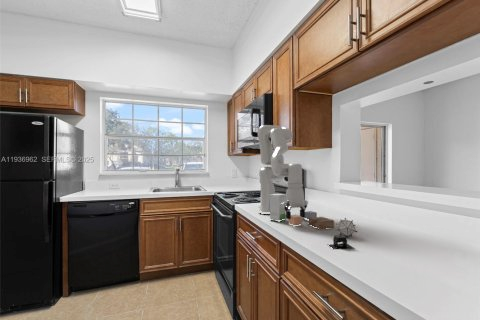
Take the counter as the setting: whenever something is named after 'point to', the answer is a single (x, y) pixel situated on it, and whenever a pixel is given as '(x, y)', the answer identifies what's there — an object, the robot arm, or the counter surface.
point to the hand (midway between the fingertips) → (295, 217)
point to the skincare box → (277, 207)
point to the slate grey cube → (310, 214)
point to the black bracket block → (343, 245)
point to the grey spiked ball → (346, 227)
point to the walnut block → (321, 222)
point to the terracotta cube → (295, 220)
